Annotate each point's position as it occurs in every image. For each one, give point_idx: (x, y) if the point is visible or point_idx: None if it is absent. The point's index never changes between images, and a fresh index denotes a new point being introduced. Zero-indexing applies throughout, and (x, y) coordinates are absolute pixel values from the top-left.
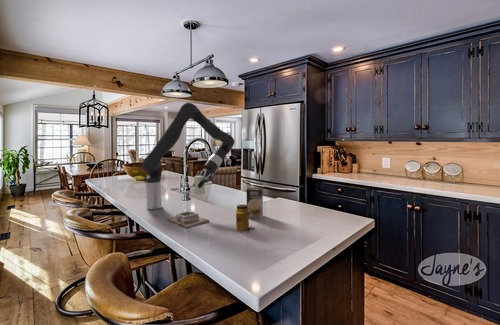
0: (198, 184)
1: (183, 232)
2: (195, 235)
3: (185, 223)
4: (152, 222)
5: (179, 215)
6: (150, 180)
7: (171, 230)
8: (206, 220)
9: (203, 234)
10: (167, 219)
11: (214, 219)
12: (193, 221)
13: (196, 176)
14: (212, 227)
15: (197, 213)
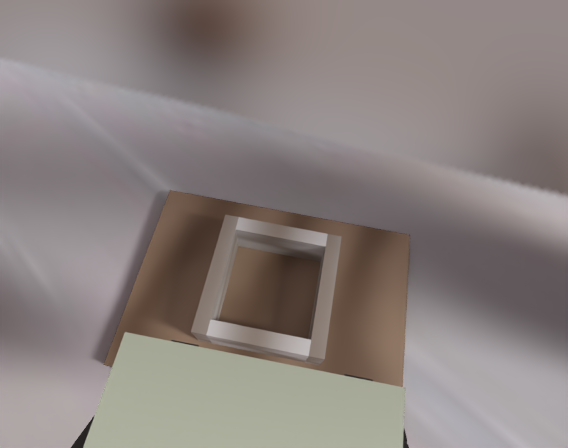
0: None
1: (144, 154)
2: (56, 154)
3: (213, 225)
4: (431, 173)
5: (293, 228)
6: None
7: (225, 144)
8: (115, 344)
9: (20, 181)
10: (396, 235)
11: None
12: (192, 278)
13: (297, 411)
14: (22, 287)
15: (198, 330)
